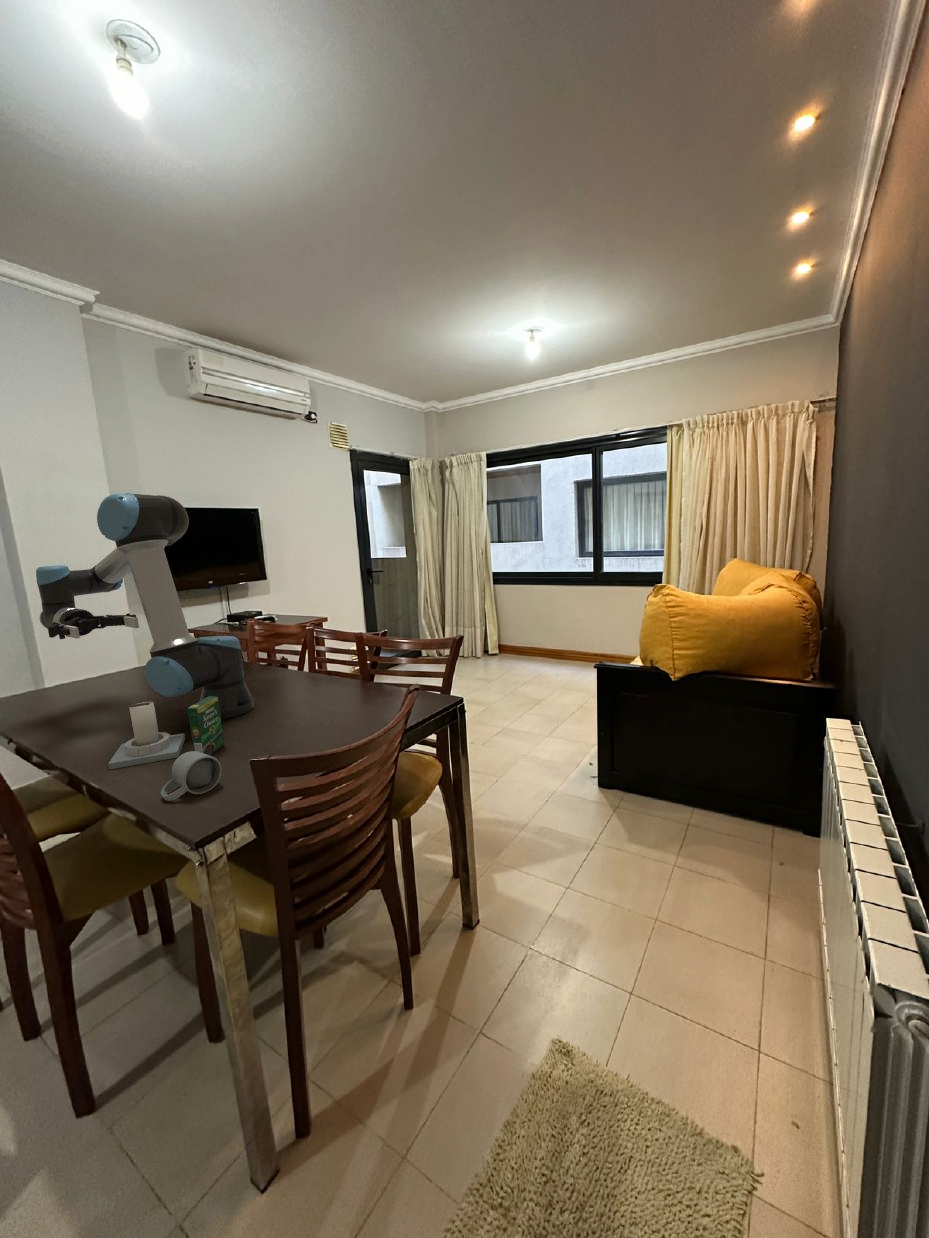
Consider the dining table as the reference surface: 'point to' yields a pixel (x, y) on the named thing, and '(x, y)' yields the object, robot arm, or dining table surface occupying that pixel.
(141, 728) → the grey cylindrical peg
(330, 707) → the dining table surface
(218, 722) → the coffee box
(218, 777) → the ceramic mug
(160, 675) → the robot arm
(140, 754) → the hub
